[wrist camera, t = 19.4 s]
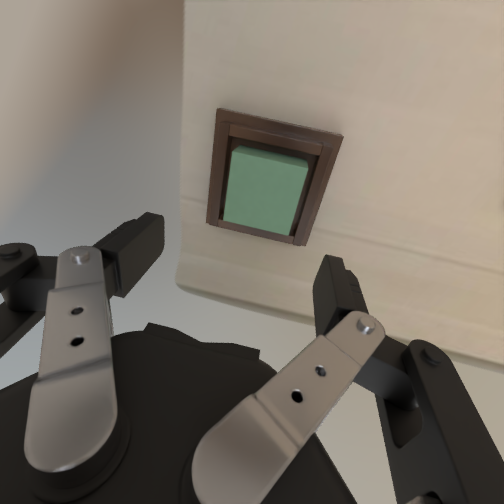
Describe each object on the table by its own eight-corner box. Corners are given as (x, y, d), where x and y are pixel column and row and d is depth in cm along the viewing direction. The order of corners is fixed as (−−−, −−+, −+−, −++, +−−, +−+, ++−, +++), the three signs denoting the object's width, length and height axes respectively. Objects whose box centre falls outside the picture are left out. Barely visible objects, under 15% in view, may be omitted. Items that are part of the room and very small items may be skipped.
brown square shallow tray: (208, 218, 26) (201, 229, 24) (220, 107, 21) (211, 109, 18) (305, 241, 26) (306, 254, 23) (341, 134, 20) (347, 138, 18)
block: (230, 207, 24) (222, 220, 21) (239, 144, 21) (231, 150, 18) (289, 221, 24) (288, 236, 21) (307, 159, 21) (308, 168, 18)
